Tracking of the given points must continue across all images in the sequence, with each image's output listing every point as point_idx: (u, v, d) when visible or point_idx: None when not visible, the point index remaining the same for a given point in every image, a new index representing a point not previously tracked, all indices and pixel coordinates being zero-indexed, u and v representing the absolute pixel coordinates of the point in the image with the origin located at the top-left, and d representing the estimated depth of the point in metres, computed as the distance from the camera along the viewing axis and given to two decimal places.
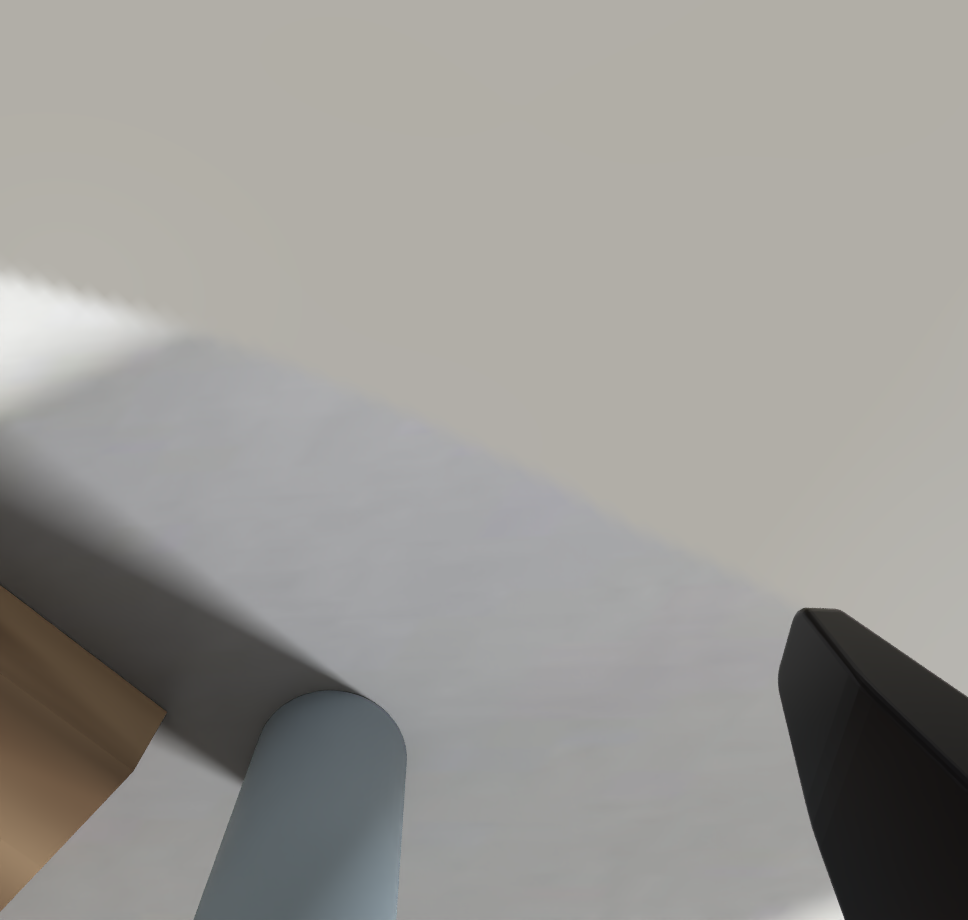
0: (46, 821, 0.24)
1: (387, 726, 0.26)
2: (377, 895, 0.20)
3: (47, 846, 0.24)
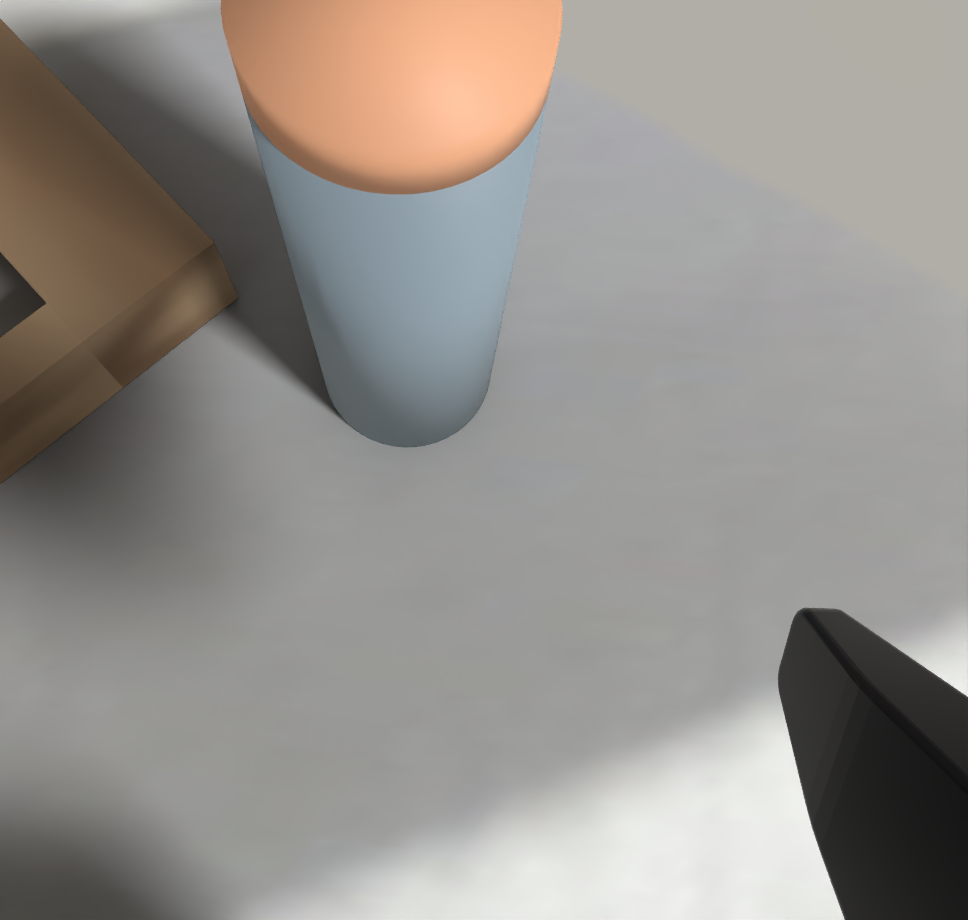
0: (104, 288, 0.21)
1: None
2: None
3: (96, 317, 0.21)
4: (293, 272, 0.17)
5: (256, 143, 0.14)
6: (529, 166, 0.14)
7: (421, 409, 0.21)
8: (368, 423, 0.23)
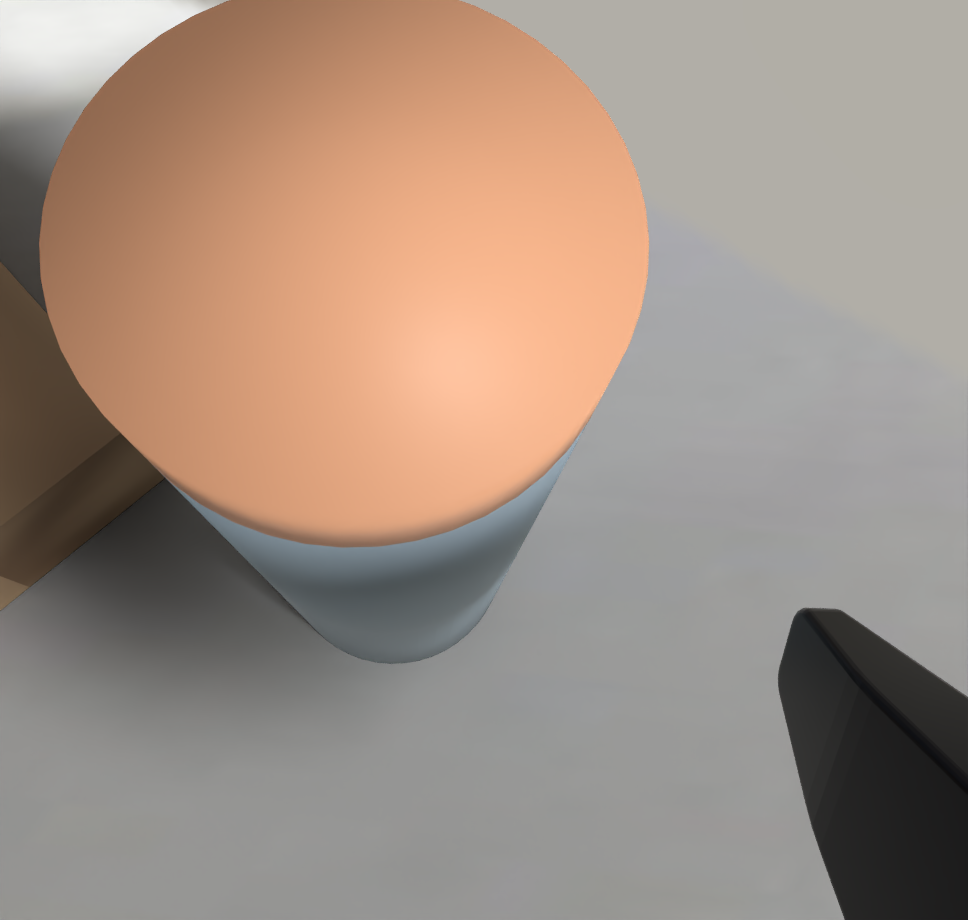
0: None
1: None
2: None
3: None
4: None
5: None
6: None
7: (411, 648, 0.16)
8: (342, 647, 0.17)
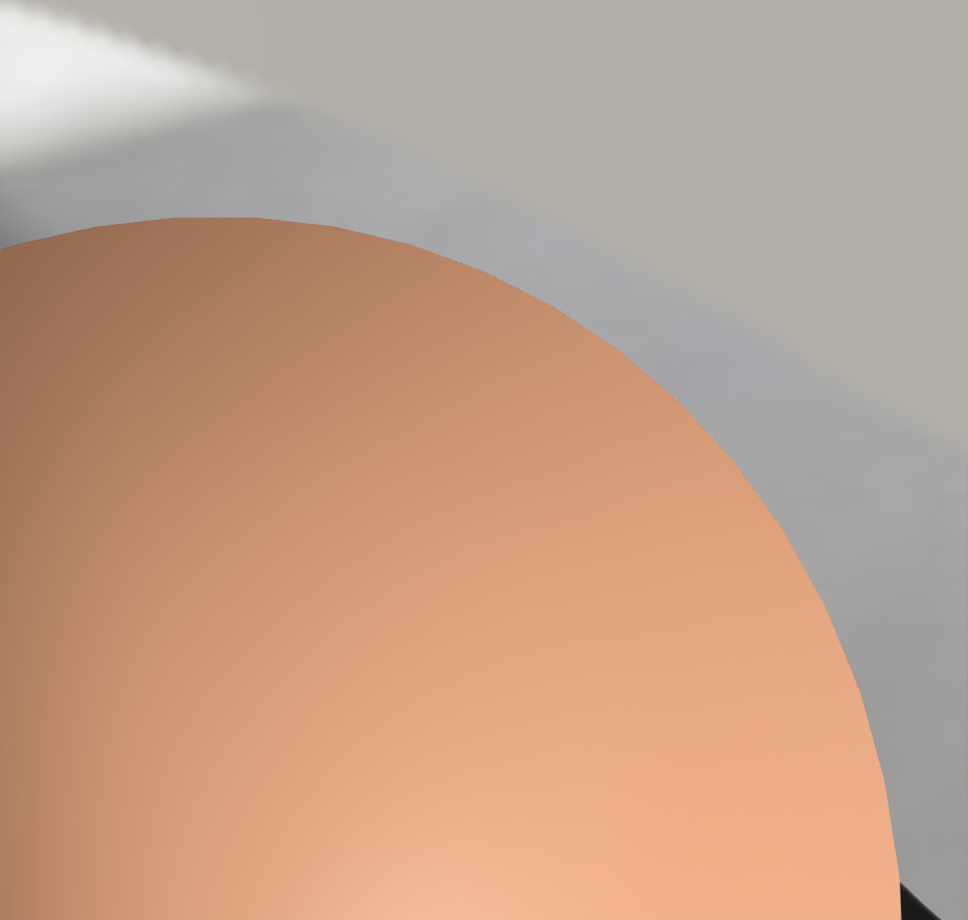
0: None
1: None
2: None
3: None
4: None
5: None
6: None
7: None
8: None
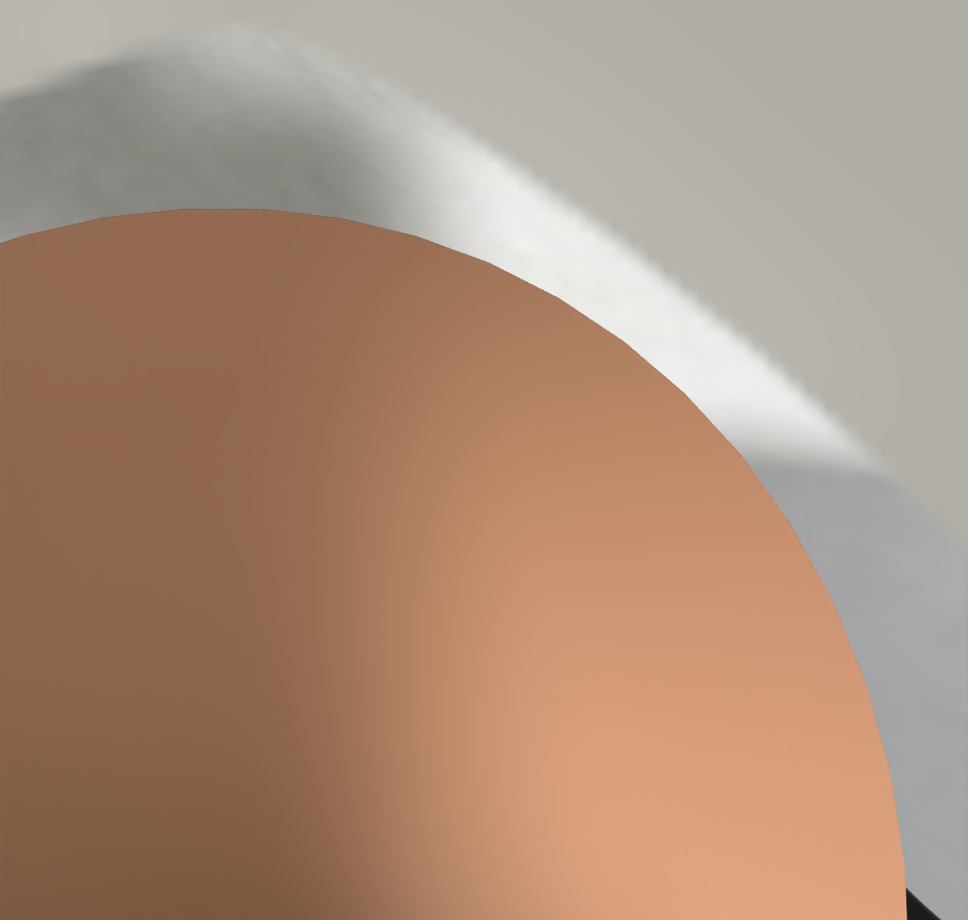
0: None
1: None
2: None
3: None
4: None
5: None
6: None
7: None
8: None
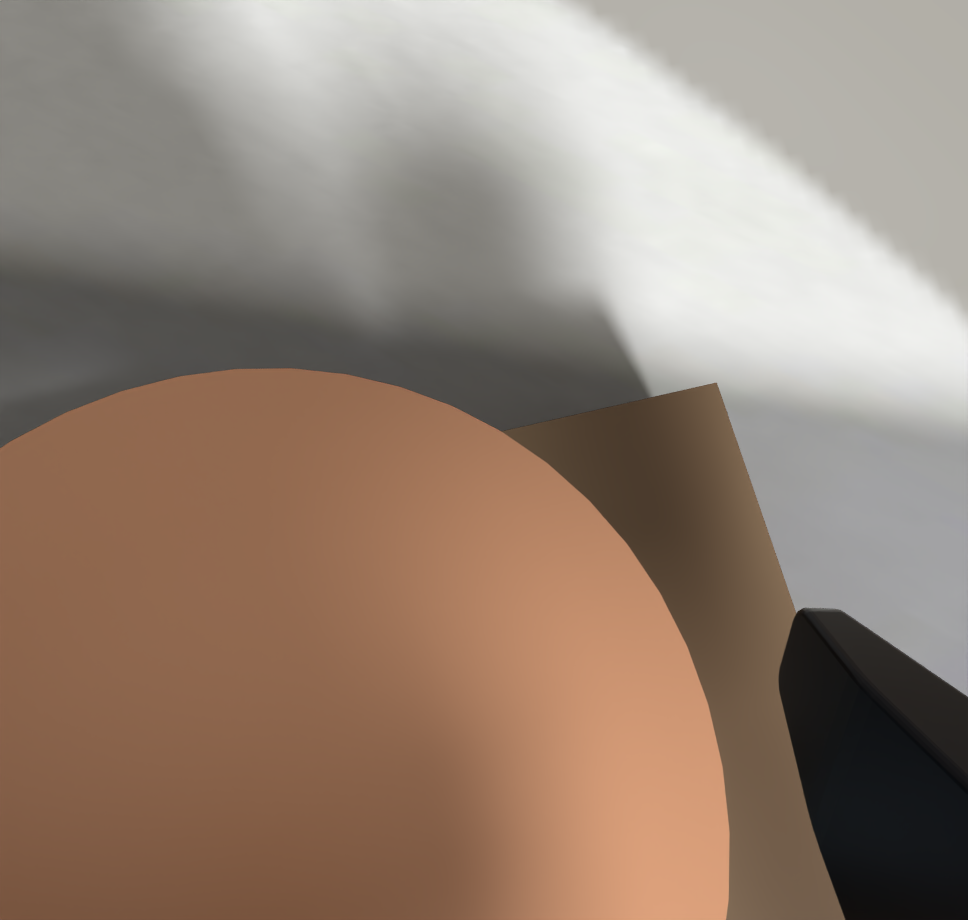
0: None
1: None
2: None
3: None
4: None
5: None
6: None
7: None
8: None
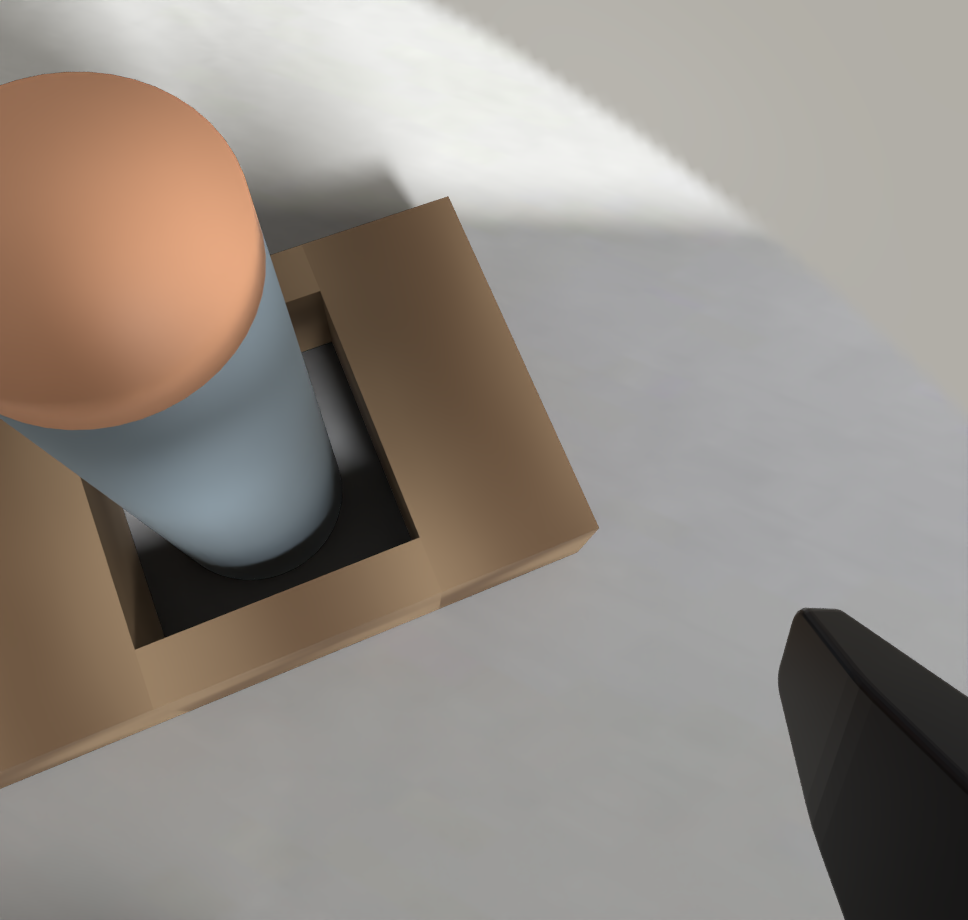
0: (478, 540, 0.20)
1: None
2: None
3: (462, 570, 0.20)
4: None
5: None
6: (270, 352, 0.13)
7: (257, 553, 0.20)
8: (212, 567, 0.21)
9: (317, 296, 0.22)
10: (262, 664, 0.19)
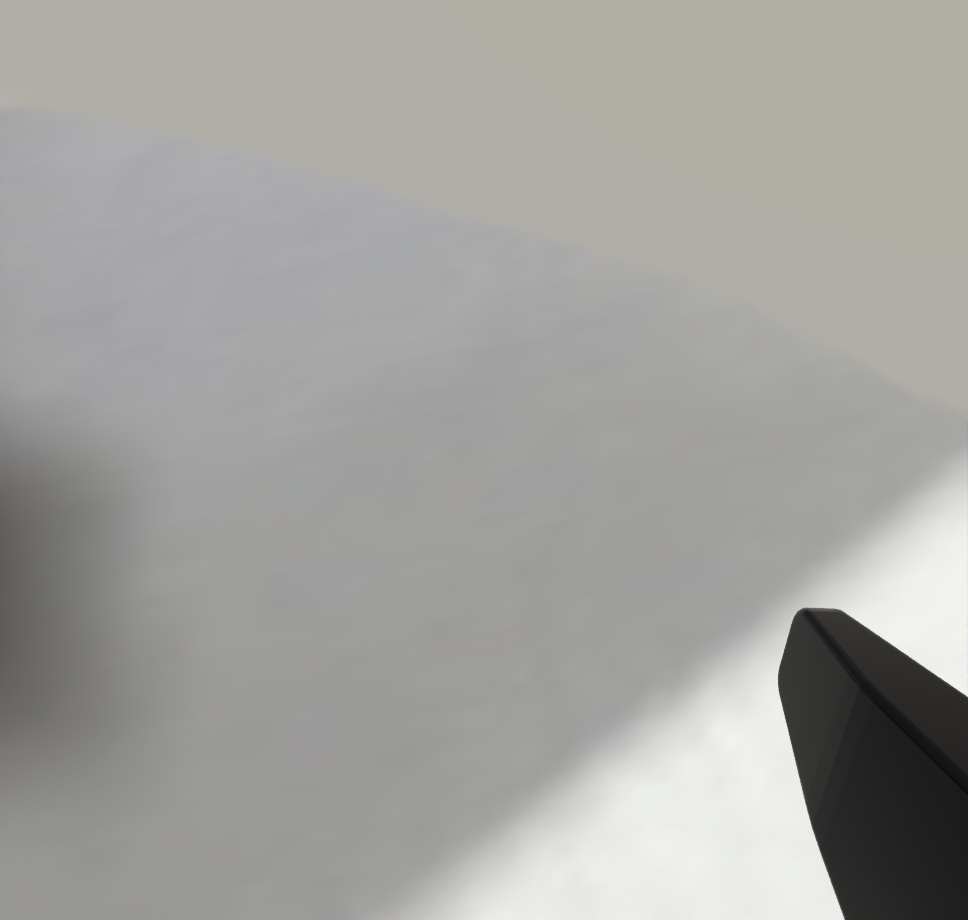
0: None
1: None
2: None
3: None
4: None
5: None
6: None
7: None
8: None
9: None
10: None
